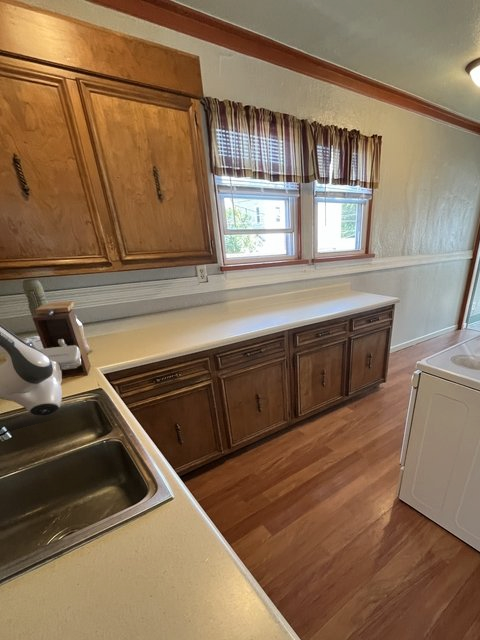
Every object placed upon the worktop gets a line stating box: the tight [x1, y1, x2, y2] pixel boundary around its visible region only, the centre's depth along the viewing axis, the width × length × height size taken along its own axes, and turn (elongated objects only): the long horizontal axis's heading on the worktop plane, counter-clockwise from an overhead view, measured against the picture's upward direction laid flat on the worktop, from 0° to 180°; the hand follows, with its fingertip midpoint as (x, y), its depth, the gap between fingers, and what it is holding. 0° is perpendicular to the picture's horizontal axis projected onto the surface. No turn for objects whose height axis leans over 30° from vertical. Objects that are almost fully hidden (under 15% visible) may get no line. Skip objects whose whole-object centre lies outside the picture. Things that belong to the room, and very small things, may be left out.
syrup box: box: [25, 335, 44, 349], centre depth 145 cm, size 6×6×14 cm
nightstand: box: [32, 308, 92, 380], centre depth 138 cm, size 12×12×26 cm
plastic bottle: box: [74, 313, 91, 355], centre depth 161 cm, size 6×7×20 cm
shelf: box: [35, 300, 75, 318], centre depth 134 cm, size 25×11×2 cm, turn 25°
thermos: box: [22, 278, 49, 318], centre depth 165 cm, size 9×12×35 cm
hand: (45, 342), depth 114 cm, fingers open, 8 cm apart
